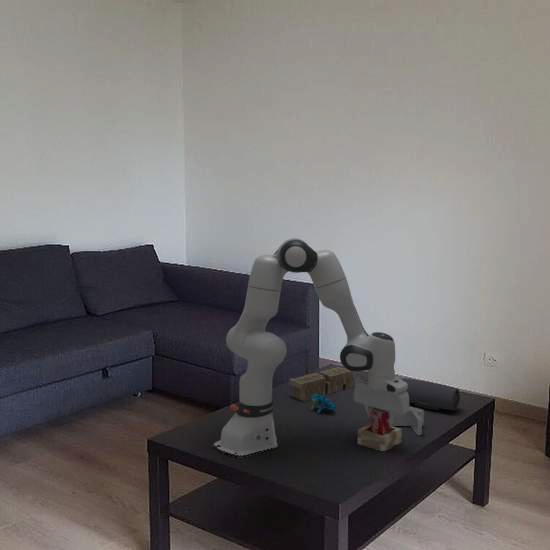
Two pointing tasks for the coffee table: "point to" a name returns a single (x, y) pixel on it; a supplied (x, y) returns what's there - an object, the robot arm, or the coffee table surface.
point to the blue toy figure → (322, 403)
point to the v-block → (410, 419)
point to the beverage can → (379, 421)
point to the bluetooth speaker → (432, 395)
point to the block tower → (321, 383)
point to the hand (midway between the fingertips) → (380, 420)
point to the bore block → (379, 438)
